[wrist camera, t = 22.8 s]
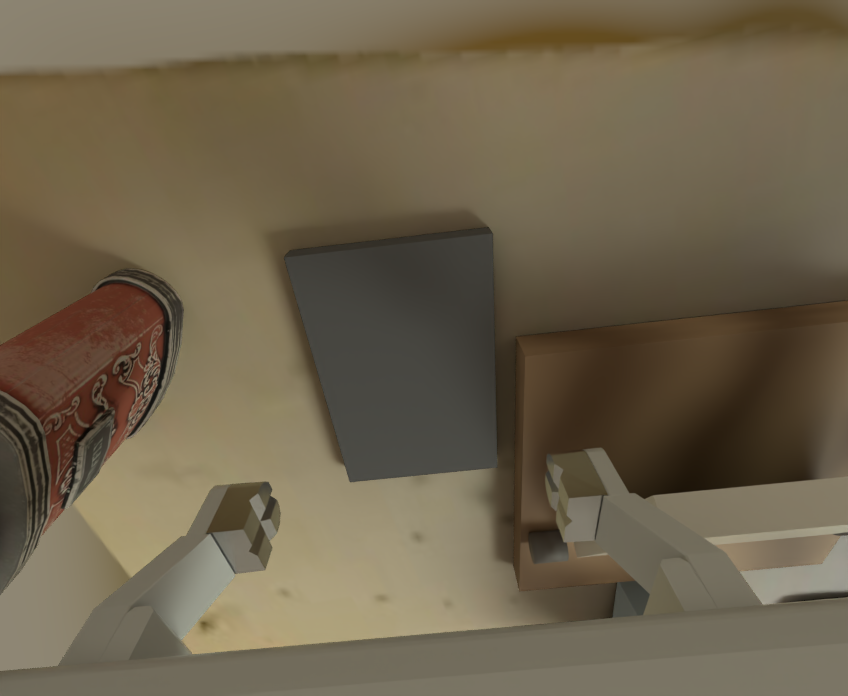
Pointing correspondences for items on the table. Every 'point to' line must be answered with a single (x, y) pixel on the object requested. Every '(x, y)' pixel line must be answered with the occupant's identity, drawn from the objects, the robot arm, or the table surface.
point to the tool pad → (404, 350)
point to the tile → (754, 512)
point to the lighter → (78, 399)
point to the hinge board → (681, 421)
